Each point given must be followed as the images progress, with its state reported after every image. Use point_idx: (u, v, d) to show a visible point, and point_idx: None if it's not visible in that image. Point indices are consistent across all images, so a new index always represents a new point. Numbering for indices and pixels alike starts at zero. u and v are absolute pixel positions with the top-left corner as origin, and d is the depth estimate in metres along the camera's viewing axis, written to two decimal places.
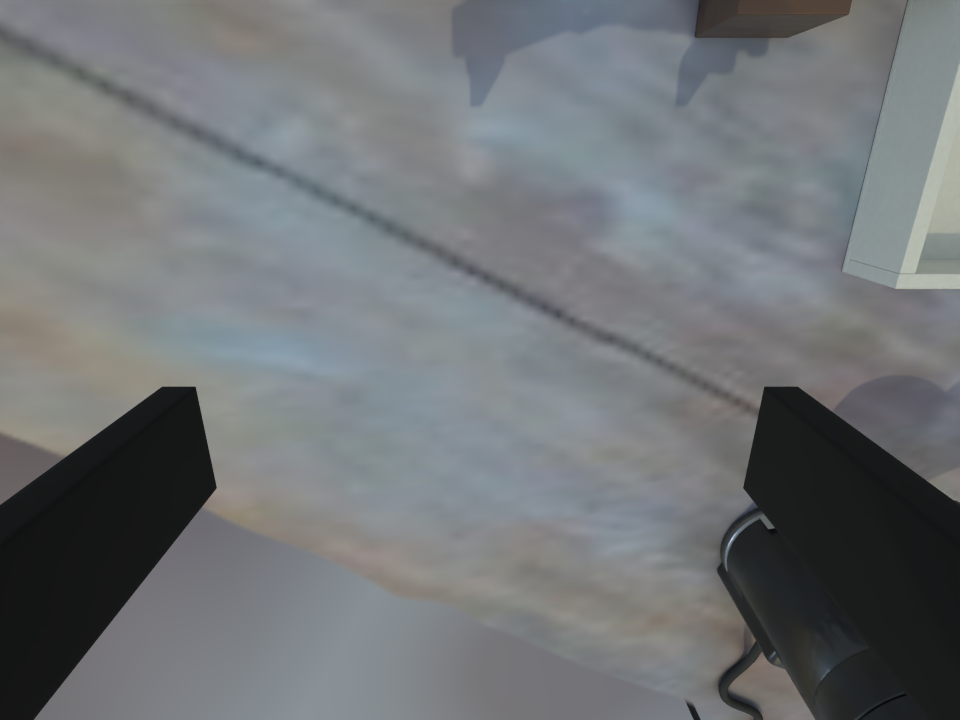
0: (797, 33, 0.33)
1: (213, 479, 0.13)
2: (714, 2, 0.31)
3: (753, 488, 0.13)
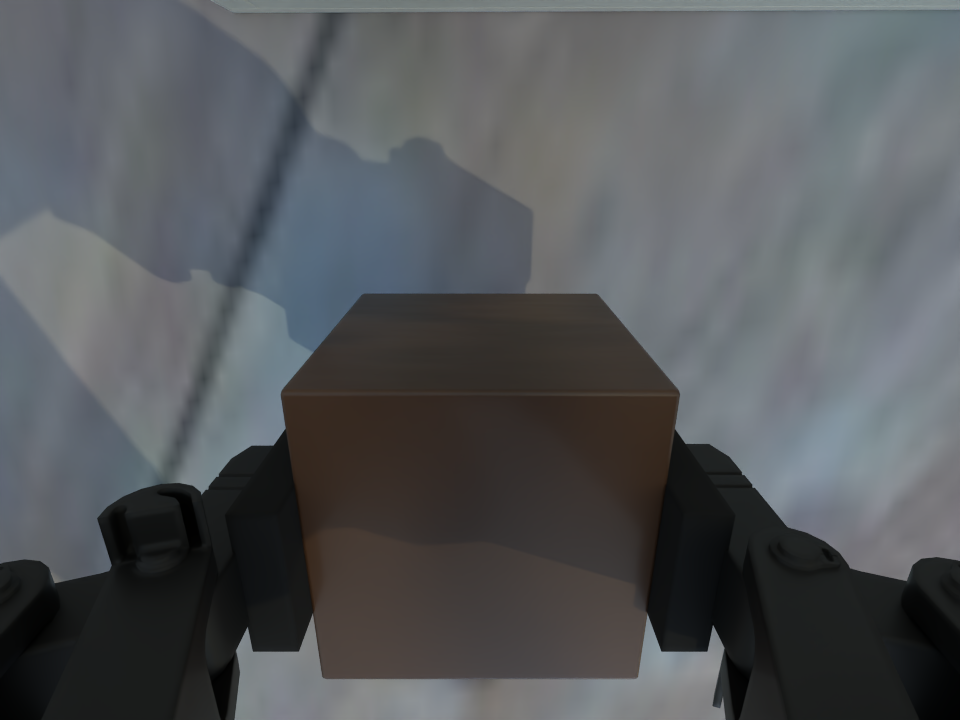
0: None
1: None
2: None
3: None
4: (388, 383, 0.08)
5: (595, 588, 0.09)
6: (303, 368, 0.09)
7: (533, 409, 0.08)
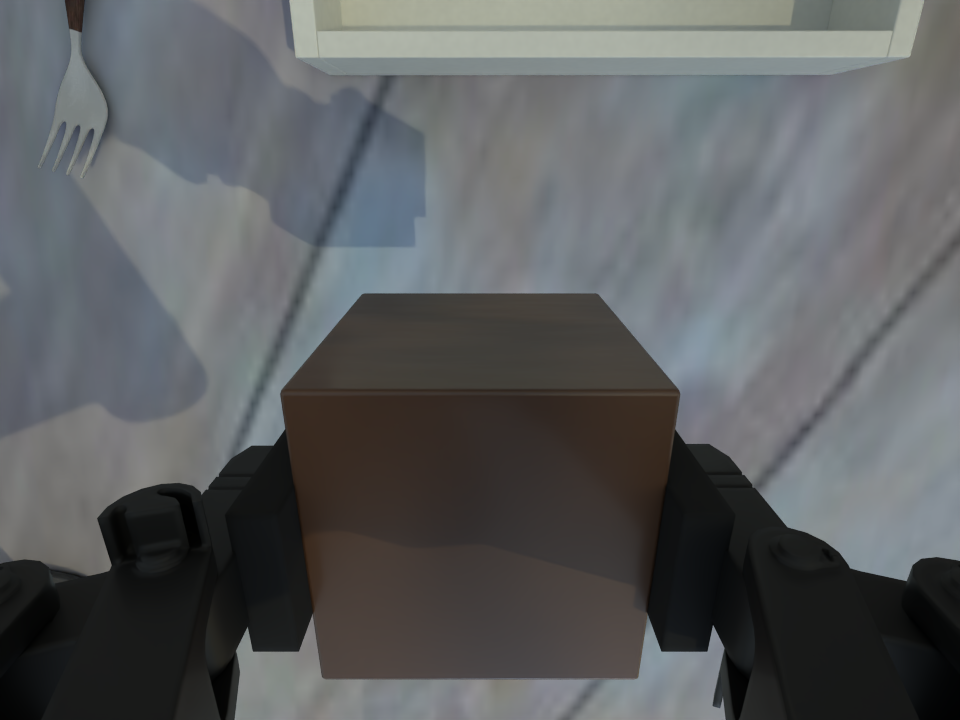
0: None
1: None
2: None
3: None
4: (388, 383, 0.08)
5: (596, 588, 0.09)
6: (303, 368, 0.09)
7: (532, 408, 0.08)
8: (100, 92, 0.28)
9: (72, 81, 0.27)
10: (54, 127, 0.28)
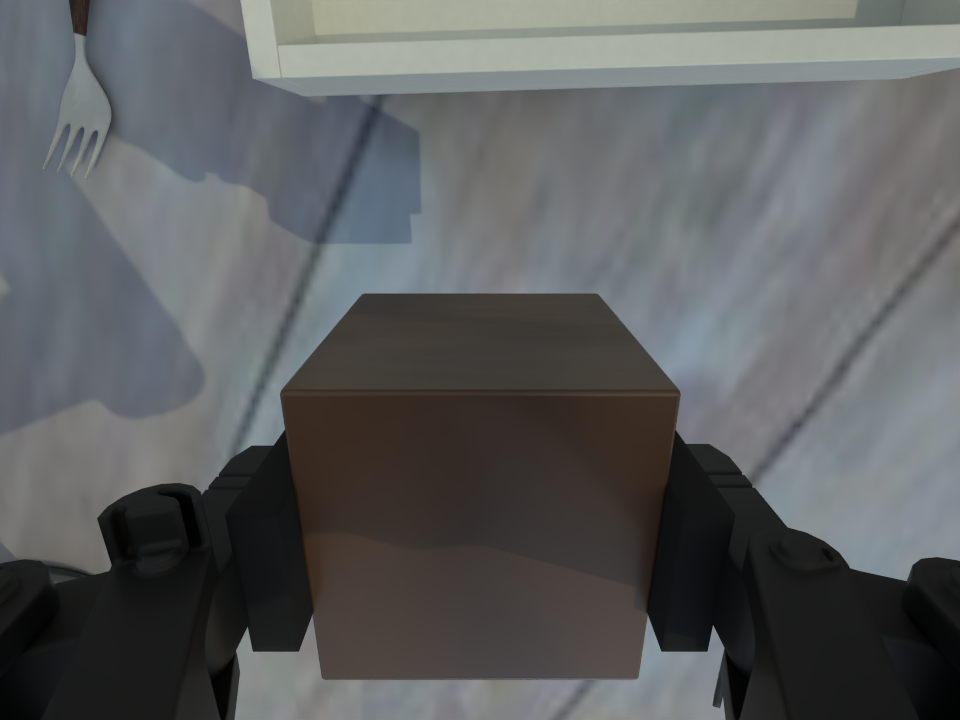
0: None
1: None
2: None
3: None
4: (388, 384, 0.08)
5: (596, 589, 0.09)
6: (303, 368, 0.09)
7: (533, 409, 0.08)
8: (104, 95, 0.28)
9: (76, 84, 0.28)
10: (58, 129, 0.28)
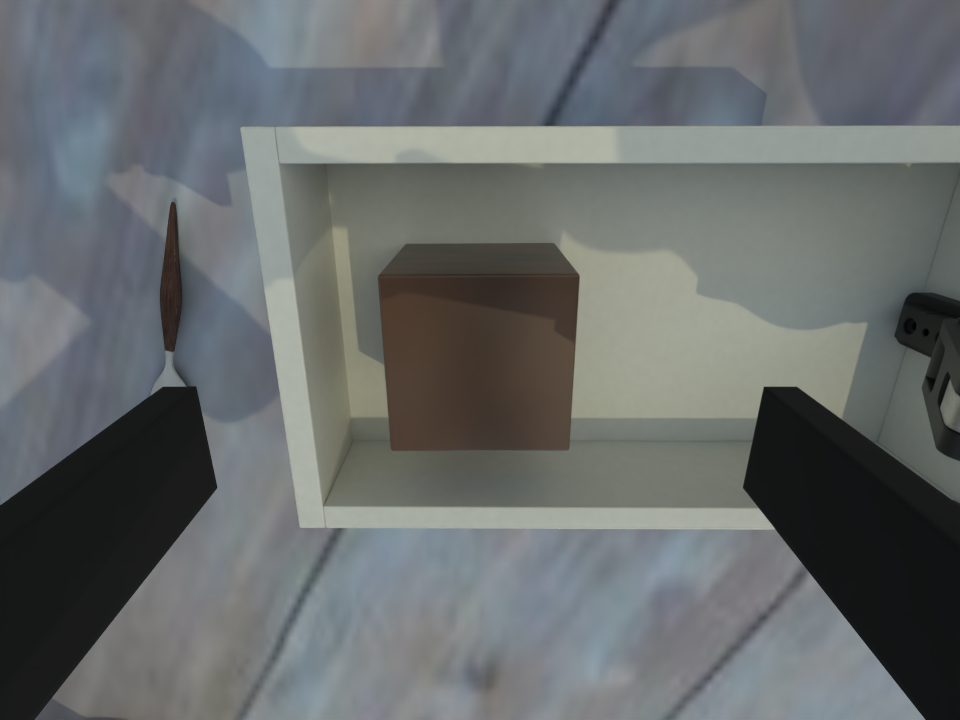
0: None
1: (214, 479, 0.13)
2: None
3: (752, 488, 0.13)
4: (431, 272, 0.16)
5: (542, 390, 0.17)
6: (385, 269, 0.17)
7: (505, 284, 0.16)
8: None
9: (164, 382, 0.34)
10: None
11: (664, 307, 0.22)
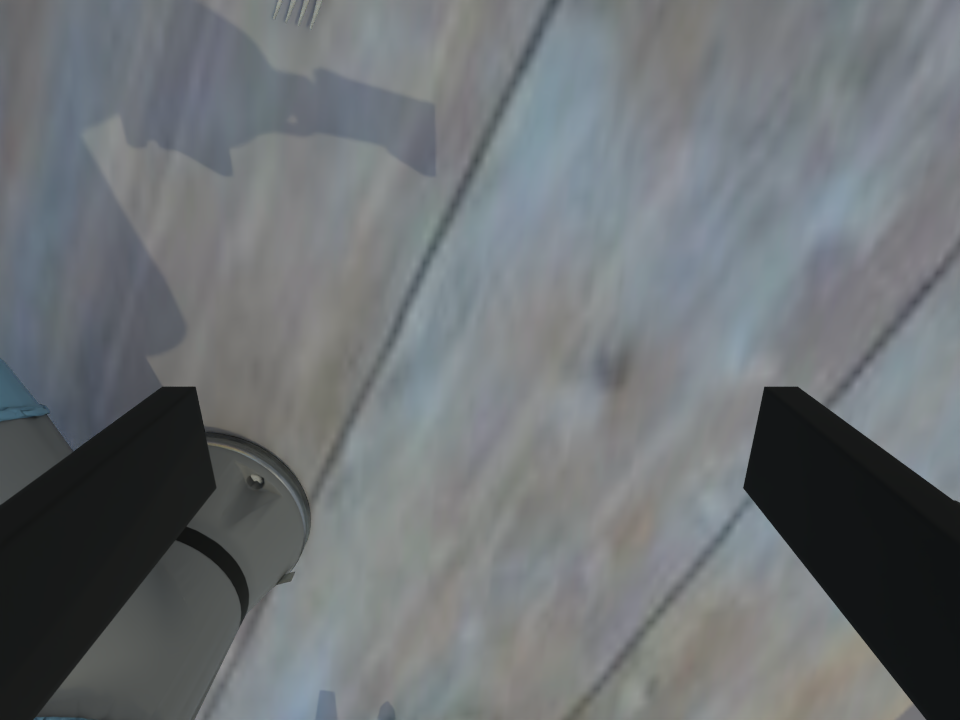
0: None
1: (213, 479, 0.13)
2: None
3: (753, 488, 0.13)
4: None
5: None
6: None
7: None
8: None
9: None
10: None
11: None
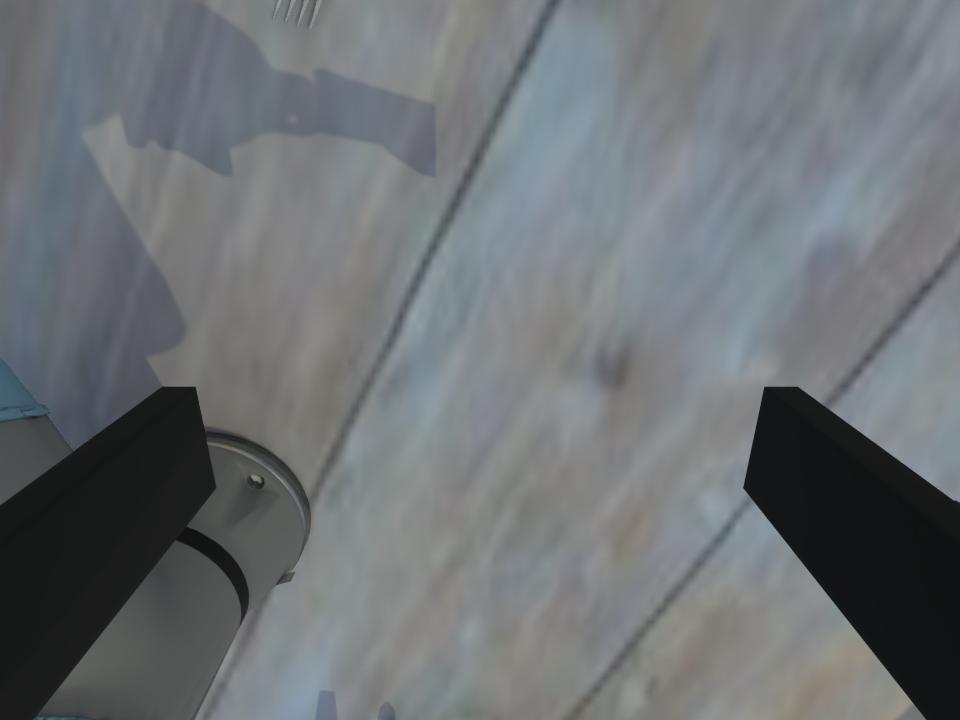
0: None
1: (213, 479, 0.13)
2: None
3: (753, 488, 0.13)
4: None
5: None
6: None
7: None
8: None
9: None
10: None
11: None
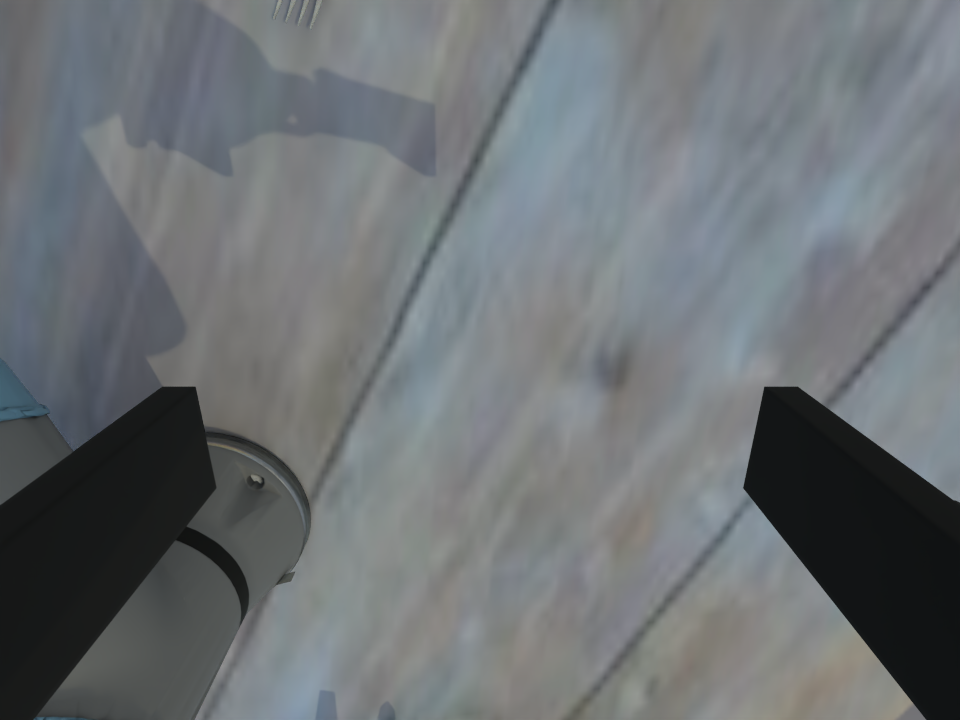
0: None
1: (213, 479, 0.13)
2: None
3: (753, 488, 0.13)
4: None
5: None
6: None
7: None
8: None
9: None
10: None
11: None
